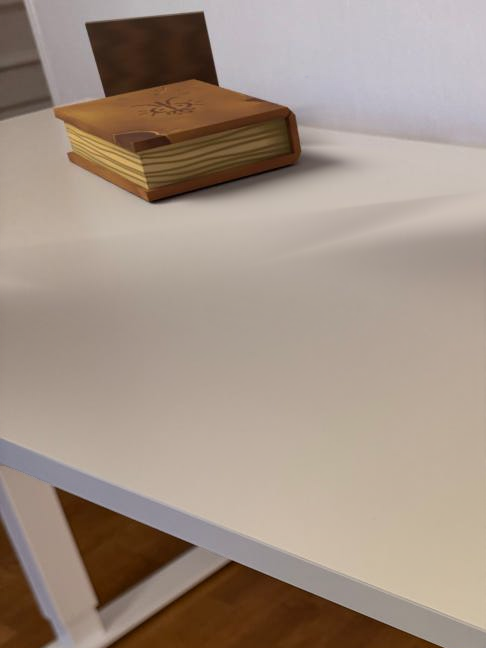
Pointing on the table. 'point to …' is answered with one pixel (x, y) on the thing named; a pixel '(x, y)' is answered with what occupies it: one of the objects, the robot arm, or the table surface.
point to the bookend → (151, 51)
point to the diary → (179, 137)
